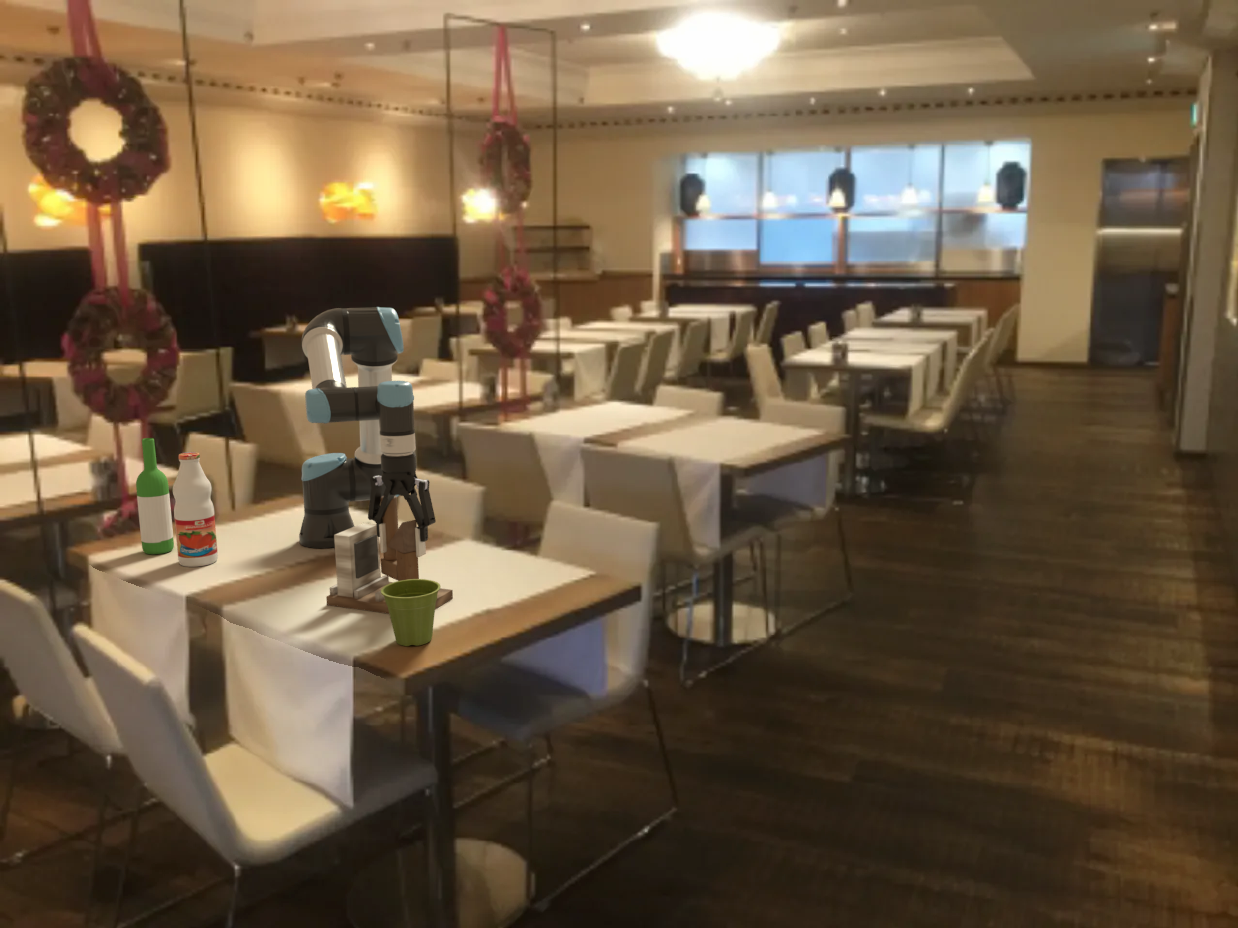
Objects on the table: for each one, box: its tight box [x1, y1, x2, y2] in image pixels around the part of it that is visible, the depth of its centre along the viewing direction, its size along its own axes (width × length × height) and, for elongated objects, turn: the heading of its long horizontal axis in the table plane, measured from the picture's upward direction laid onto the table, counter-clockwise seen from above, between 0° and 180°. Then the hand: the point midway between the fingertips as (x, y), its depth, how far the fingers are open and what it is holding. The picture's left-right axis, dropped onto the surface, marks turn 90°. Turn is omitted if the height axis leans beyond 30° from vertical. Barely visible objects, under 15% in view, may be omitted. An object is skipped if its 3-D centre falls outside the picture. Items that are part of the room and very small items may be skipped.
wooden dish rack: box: [325, 522, 454, 615], centre depth 243 cm, size 14×24×16 cm, turn 68°
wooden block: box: [380, 496, 420, 581], centre depth 240 cm, size 4×11×18 cm, turn 41°
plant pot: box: [381, 578, 441, 647], centre depth 219 cm, size 12×12×11 cm
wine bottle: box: [135, 437, 175, 555], centre depth 282 cm, size 8×8×30 cm
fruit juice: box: [172, 451, 219, 568], centre depth 273 cm, size 9×9×28 cm
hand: (403, 553), depth 240 cm, fingers open, 8 cm apart
